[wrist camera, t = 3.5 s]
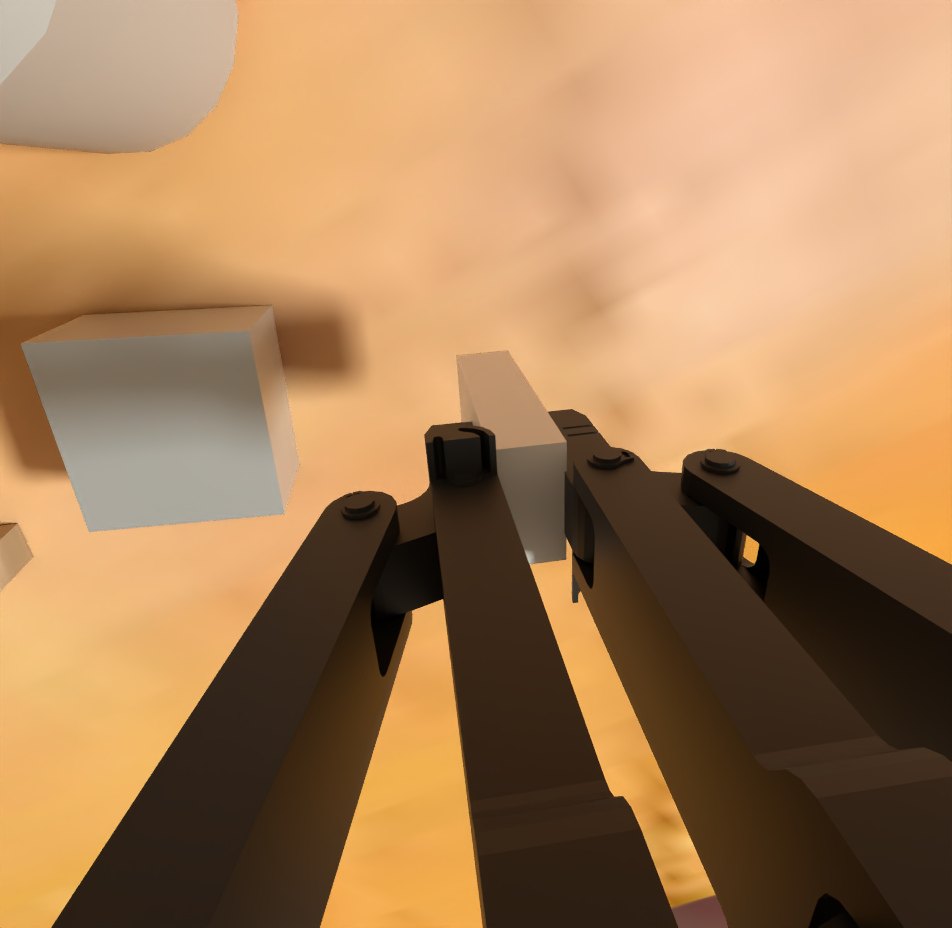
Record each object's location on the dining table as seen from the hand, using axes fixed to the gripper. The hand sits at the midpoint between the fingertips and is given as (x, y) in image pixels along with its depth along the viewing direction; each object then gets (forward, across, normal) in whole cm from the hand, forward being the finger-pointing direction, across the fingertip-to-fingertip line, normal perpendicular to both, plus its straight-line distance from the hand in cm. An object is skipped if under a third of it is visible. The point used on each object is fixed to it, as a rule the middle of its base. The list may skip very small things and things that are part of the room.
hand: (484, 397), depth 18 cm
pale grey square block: (+5, +10, 0) cm, 11 cm away
